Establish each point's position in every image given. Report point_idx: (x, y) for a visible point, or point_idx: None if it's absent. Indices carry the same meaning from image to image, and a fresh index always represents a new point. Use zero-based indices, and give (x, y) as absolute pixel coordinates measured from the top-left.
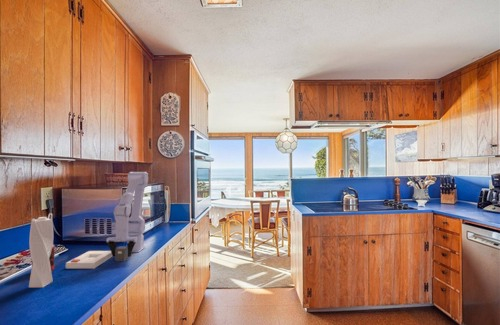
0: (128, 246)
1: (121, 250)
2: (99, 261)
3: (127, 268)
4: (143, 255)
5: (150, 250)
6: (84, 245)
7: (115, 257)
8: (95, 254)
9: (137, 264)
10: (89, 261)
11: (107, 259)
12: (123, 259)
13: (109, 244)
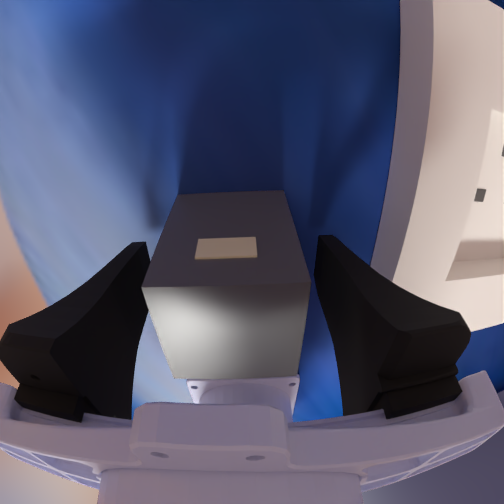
0: (65, 318)
1: (195, 269)
2: (419, 78)
3: (34, 12)
4: None
5: (137, 394)
6: (494, 386)
7: (285, 209)
8: (488, 272)
9: (6, 126)
10: (497, 46)
11: (380, 228)
12: (183, 202)
13: (442, 324)
